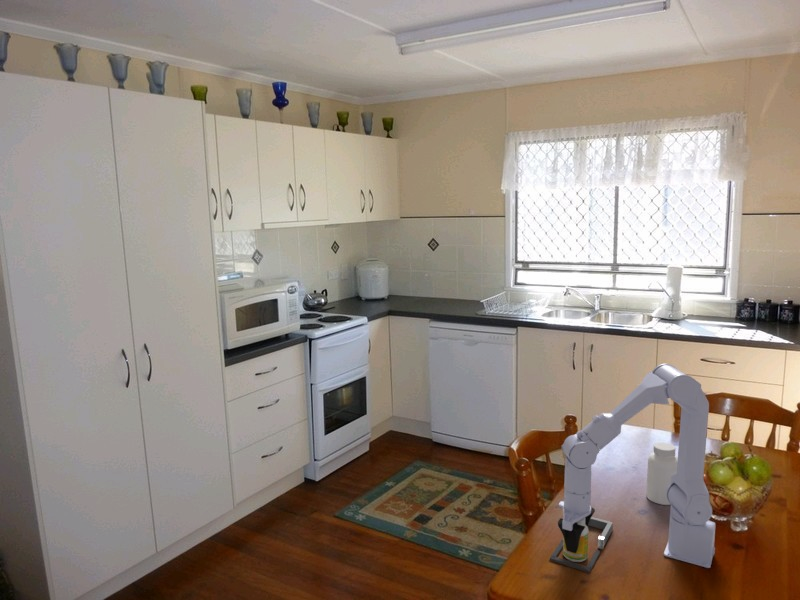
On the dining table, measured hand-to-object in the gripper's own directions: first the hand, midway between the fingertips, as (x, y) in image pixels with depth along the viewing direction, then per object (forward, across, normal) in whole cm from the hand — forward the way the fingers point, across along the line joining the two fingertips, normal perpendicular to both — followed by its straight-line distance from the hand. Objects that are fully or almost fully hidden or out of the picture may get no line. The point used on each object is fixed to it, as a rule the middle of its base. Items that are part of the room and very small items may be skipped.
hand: (575, 544), depth 137 cm
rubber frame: (+3, 0, 0) cm, 3 cm away
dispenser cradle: (+3, -11, 0) cm, 11 cm away
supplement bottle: (+3, 0, 0) cm, 3 cm away
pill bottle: (+3, -38, +12) cm, 40 cm away
